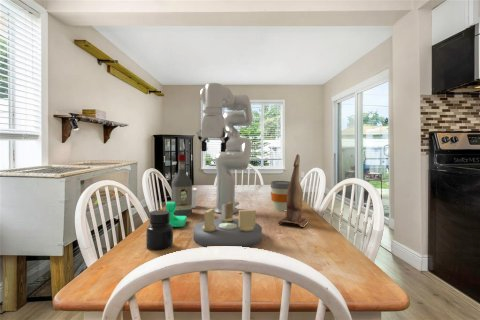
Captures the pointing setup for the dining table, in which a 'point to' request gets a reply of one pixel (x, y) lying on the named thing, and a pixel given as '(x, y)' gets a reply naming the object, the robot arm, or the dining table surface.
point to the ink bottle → (159, 231)
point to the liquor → (182, 190)
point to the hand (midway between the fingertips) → (213, 151)
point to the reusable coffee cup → (279, 194)
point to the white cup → (194, 197)
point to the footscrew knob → (227, 212)
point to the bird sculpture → (294, 198)
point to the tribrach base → (228, 230)
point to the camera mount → (175, 220)
